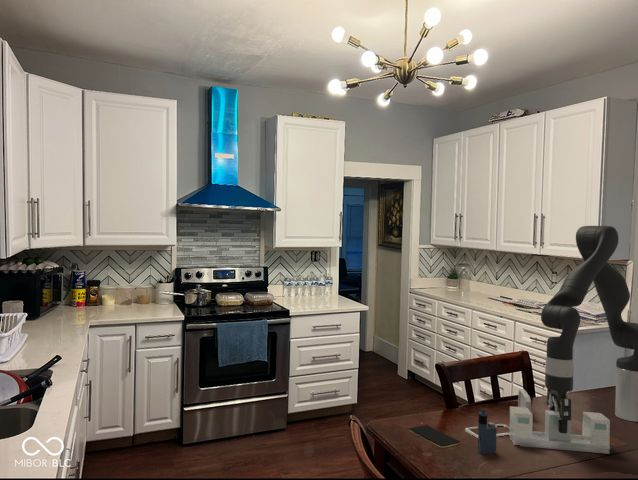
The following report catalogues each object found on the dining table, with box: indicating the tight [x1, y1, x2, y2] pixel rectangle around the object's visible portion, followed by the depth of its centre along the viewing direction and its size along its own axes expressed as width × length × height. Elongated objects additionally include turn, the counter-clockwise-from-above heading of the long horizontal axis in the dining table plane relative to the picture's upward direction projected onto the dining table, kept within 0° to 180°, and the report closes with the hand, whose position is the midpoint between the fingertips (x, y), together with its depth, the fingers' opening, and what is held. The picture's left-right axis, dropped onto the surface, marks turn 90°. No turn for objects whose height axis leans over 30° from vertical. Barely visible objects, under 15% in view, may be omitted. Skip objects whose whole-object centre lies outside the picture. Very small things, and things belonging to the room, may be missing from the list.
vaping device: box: [477, 408, 498, 455], centre depth 139 cm, size 3×5×12 cm, turn 95°
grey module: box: [544, 409, 572, 442], centre depth 145 cm, size 6×4×8 cm
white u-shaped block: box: [508, 405, 611, 455], centre depth 146 cm, size 26×7×10 cm, turn 81°
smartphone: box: [409, 424, 461, 449], centre depth 149 cm, size 7×1×15 cm
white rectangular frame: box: [464, 423, 510, 439], centre depth 154 cm, size 7×1×15 cm
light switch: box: [517, 388, 532, 413], centre depth 172 cm, size 2×12×8 cm, turn 169°
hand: (557, 427), depth 146 cm, fingers open, 8 cm apart
